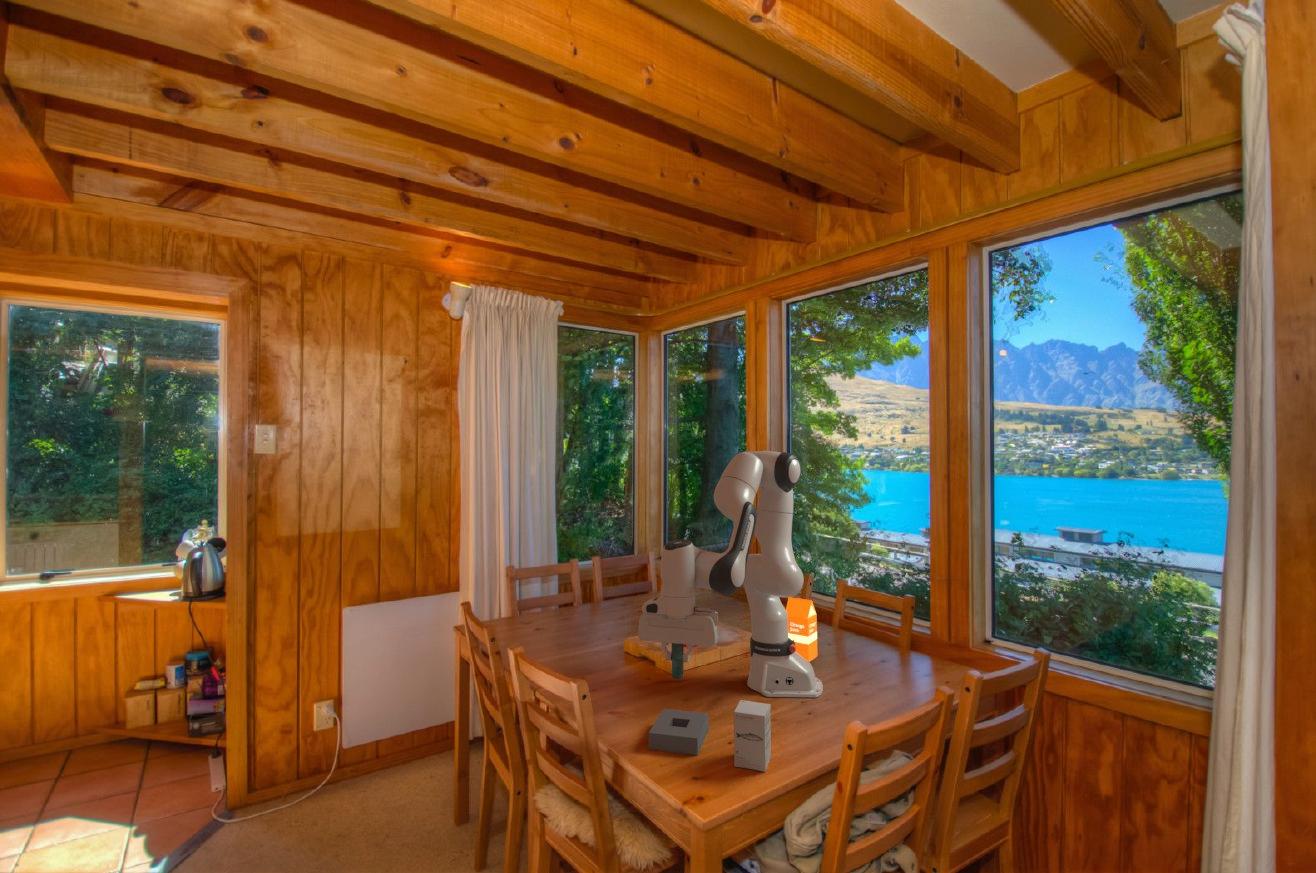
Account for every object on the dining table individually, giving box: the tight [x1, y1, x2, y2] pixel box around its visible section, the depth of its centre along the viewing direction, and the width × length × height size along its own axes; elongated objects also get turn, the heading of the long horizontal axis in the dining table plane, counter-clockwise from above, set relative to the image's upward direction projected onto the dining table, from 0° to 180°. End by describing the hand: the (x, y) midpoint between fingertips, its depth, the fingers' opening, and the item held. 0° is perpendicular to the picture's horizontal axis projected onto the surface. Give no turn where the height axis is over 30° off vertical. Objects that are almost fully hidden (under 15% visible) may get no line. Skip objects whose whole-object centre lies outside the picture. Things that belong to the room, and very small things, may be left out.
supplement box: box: [733, 699, 772, 773], centre depth 140 cm, size 7×7×13 cm
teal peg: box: [671, 643, 685, 680], centre depth 153 cm, size 3×3×10 cm
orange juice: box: [785, 597, 818, 663], centre depth 210 cm, size 8×9×20 cm
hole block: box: [648, 708, 710, 756], centre depth 152 cm, size 12×14×4 cm
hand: (677, 660), depth 153 cm, fingers closed on teal peg, 3 cm apart
